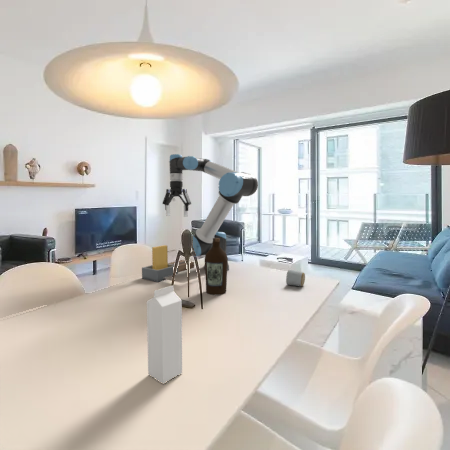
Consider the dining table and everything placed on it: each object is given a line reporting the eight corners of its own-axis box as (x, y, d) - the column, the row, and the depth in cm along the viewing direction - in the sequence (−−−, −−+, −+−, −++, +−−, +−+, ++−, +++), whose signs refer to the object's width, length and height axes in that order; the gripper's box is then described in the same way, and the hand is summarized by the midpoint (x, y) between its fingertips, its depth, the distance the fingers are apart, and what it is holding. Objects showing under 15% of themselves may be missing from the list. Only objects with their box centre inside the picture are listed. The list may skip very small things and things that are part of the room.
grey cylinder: (302, 288, 146) (302, 272, 146) (285, 286, 150) (286, 270, 149) (306, 283, 156) (306, 268, 155) (290, 281, 159) (291, 266, 159)
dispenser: (194, 270, 181) (194, 260, 181) (177, 275, 170) (177, 265, 169) (181, 267, 187) (181, 258, 186) (165, 272, 175) (165, 262, 175)
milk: (182, 374, 75) (182, 287, 73) (163, 385, 71) (162, 293, 69) (166, 365, 79) (166, 282, 77) (147, 375, 75) (146, 288, 72)
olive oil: (207, 287, 146) (207, 236, 144) (229, 289, 145) (229, 237, 142) (202, 295, 136) (202, 239, 133) (225, 296, 134) (226, 240, 132)
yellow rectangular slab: (167, 274, 168) (167, 245, 166) (155, 277, 160) (155, 247, 159) (164, 273, 169) (164, 245, 167) (152, 277, 161) (152, 247, 160)
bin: (178, 276, 167) (177, 265, 167) (157, 282, 155) (157, 270, 155) (162, 272, 174) (162, 262, 174) (142, 278, 162) (141, 267, 161)
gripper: (156, 181, 185) (156, 215, 187) (189, 180, 172) (189, 217, 174) (164, 181, 191) (165, 215, 193) (196, 180, 179) (197, 216, 181)
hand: (176, 216), depth 184 cm, fingers open, 13 cm apart
